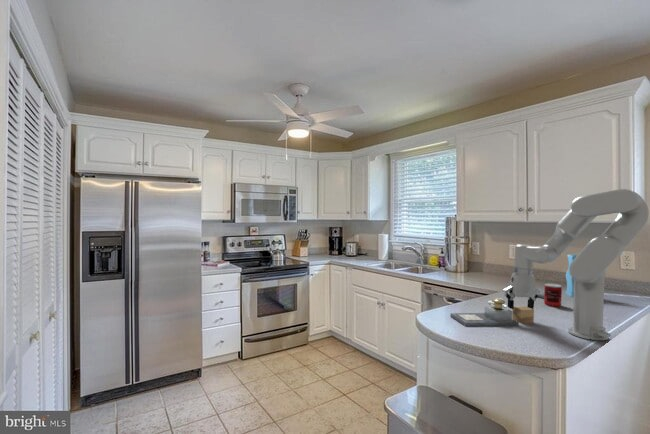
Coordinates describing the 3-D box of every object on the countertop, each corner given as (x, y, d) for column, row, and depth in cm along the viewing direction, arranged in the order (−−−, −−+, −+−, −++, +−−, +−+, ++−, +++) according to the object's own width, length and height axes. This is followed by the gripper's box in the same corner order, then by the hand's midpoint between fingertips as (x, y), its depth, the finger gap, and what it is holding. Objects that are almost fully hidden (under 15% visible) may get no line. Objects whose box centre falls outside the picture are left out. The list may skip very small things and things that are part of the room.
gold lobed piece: (507, 311, 148) (507, 301, 148) (496, 311, 148) (496, 301, 148) (500, 308, 153) (500, 298, 153) (489, 308, 153) (489, 298, 153)
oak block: (533, 322, 149) (533, 309, 149) (520, 323, 148) (521, 309, 148) (524, 318, 155) (524, 306, 155) (512, 318, 154) (512, 306, 154)
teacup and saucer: (485, 304, 181) (485, 296, 181) (496, 303, 184) (496, 295, 184) (499, 308, 173) (499, 300, 173) (510, 307, 176) (510, 299, 176)
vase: (571, 297, 199) (572, 256, 199) (565, 294, 208) (566, 254, 208) (590, 299, 196) (591, 257, 196) (583, 295, 205) (584, 255, 205)
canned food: (554, 303, 185) (554, 283, 184) (565, 307, 177) (565, 286, 176) (540, 303, 184) (541, 283, 184) (550, 307, 176) (551, 286, 176)
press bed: (518, 325, 144) (518, 313, 144) (465, 326, 142) (465, 313, 142) (498, 316, 158) (499, 304, 158) (450, 316, 156) (450, 304, 156)
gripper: (510, 272, 147) (507, 310, 148) (546, 273, 149) (544, 311, 149) (500, 269, 155) (497, 305, 155) (534, 270, 156) (532, 306, 157)
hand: (520, 308), depth 152 cm, fingers open, 9 cm apart
